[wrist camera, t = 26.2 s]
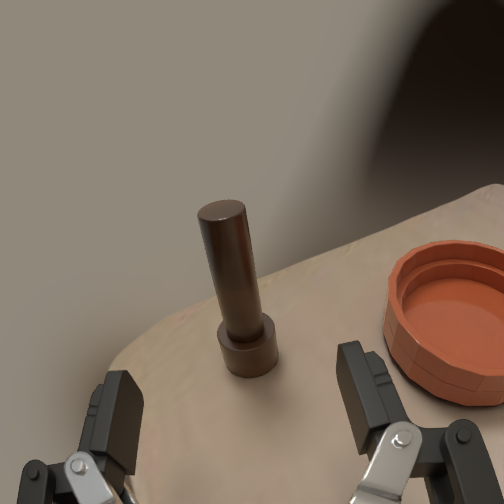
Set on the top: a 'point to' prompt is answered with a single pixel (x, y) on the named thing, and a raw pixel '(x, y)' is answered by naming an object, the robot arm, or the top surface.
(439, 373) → the bowl
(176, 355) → the top surface
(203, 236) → the muddler
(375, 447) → the robot arm
